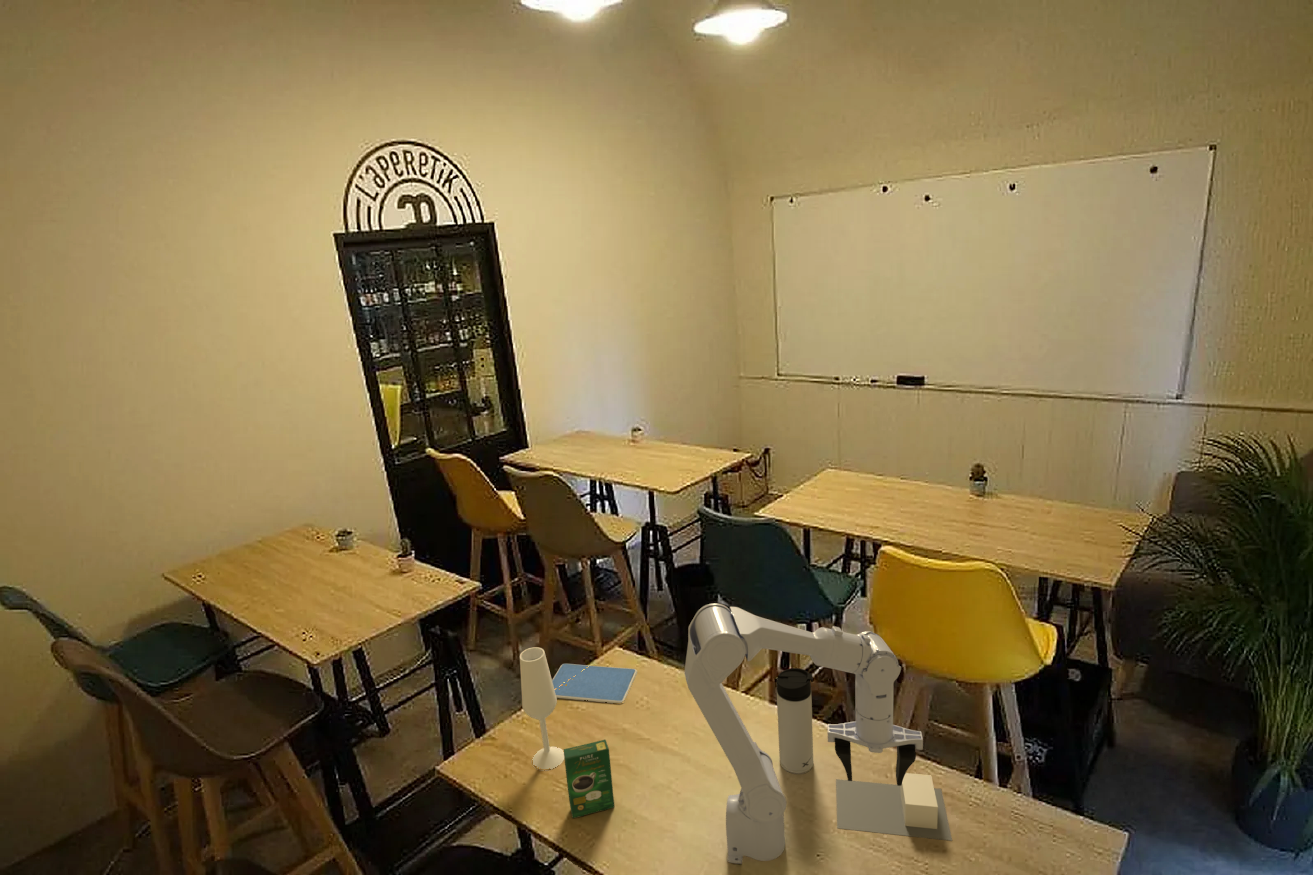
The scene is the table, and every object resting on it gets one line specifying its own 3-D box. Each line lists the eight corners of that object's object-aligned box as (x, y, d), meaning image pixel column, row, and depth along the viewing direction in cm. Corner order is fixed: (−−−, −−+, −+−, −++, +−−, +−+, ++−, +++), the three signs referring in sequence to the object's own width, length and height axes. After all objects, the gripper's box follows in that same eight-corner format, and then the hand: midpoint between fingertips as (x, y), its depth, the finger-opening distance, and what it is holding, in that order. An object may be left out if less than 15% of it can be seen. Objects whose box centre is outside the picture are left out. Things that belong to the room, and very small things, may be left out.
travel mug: (815, 779, 129) (813, 687, 123) (779, 777, 130) (775, 685, 125) (815, 755, 135) (812, 665, 129) (780, 753, 136) (776, 664, 130)
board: (837, 832, 117) (836, 813, 116) (835, 783, 127) (835, 765, 126) (952, 845, 113) (952, 825, 112) (941, 793, 123) (941, 774, 122)
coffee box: (613, 796, 129) (605, 737, 125) (616, 808, 126) (609, 747, 123) (570, 808, 127) (561, 748, 124) (572, 820, 125) (563, 759, 121)
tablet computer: (638, 672, 166) (638, 667, 166) (623, 706, 154) (623, 701, 154) (562, 667, 171) (562, 662, 171) (542, 699, 159) (542, 694, 159)
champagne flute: (526, 768, 138) (508, 663, 131) (539, 745, 144) (523, 643, 137) (557, 772, 136) (541, 666, 130) (569, 748, 142) (554, 645, 136)
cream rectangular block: (905, 825, 116) (905, 804, 115) (900, 793, 123) (900, 772, 121) (937, 829, 115) (937, 807, 114) (930, 796, 122) (931, 775, 120)
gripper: (827, 721, 108) (828, 793, 112) (926, 729, 105) (924, 802, 109) (826, 693, 115) (828, 761, 119) (920, 699, 112) (918, 769, 115)
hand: (874, 778), depth 114 cm, fingers open, 7 cm apart
